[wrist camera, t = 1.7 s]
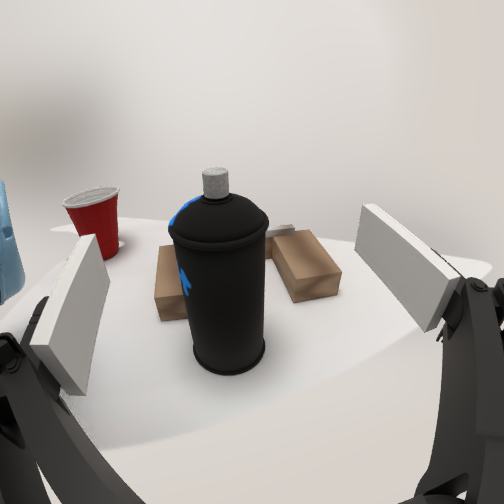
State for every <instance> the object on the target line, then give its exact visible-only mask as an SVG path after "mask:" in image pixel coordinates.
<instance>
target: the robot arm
mask: <svg viewBox="0 0 504 504" xmlns="http://www.w3.org/2000/svg"><path fill="white" fill-rule="evenodd" d="M354 250H355V251H356V252H357V253H358V254H359V256H360V257H361V258H362V259H363V260H364V261H365V262H366V263H367V264H368V266H369V267H370V268H371V269H372V270H373V271H374V272H375V273H376V275H377V276H378V277H379V278H380V279H381V280H382V282H383V283H384V284H385V285H386V286H387V287H388V289H389V290H390V291H391V292H392V293H393V294H394V296H395V297H396V298H397V299H398V300H399V302H400V303H401V304H402V305H403V306H404V308H405V309H406V310H407V311H408V313H409V314H410V315H411V316H412V318H413V319H414V320H415V321H416V323H417V324H418V325H419V326H420V328H421V329H422V330H423V331H424V333H425V332H427V331H430V330H432V329H434V328H436V327H437V325H438V323H439V322H440V319H441V318H443V319H444V320H445V321H446V322H445V324H444V326H443V328H442V330H441V331H440V333H439V335H438V337H437V339H436V341H439V339H440V337H442V336H443V340H442V341H441V342H442V343H443V360H442V380H441V393H440V403H439V411H438V419H437V426H436V432H435V438H434V444H433V449H432V455H431V459H430V463H429V466H428V469H427V471H426V472H425V474H424V475H423V477H422V478H421V480H420V482H419V483H418V486H417V488H416V491H415V495H414V498H411V499H409V500H406V501H404V502H402V503H399V504H504V330H503V331H502V330H501V328H500V326H501V324H502V323H503V321H504V278H500V279H498V281H497V283H496V285H495V287H494V288H489V287H488V286H487V285H486V284H485V283H484V282H483V281H481V280H479V279H477V278H473V277H470V278H467V279H465V278H464V277H463V276H462V275H461V274H460V273H459V272H458V271H457V270H456V269H455V268H454V267H453V266H451V265H450V264H449V263H447V261H446V260H445V259H444V258H443V257H442V258H441V256H440V255H439V254H438V253H437V252H436V251H434V250H433V249H431V248H429V247H428V246H427V245H425V244H424V243H423V242H422V241H421V240H419V239H418V238H417V237H416V236H415V235H413V234H412V233H411V232H410V231H409V230H407V229H406V228H405V227H403V226H402V225H401V224H400V223H399V222H397V221H396V220H395V219H393V218H392V217H391V216H390V215H388V214H387V213H386V212H384V211H383V210H382V209H380V208H379V207H378V206H376V205H375V204H363V205H362V209H361V216H360V222H359V227H358V233H357V239H356V244H355V249H354ZM24 283H25V273H24V269H23V266H22V263H21V259H20V256H19V252H18V248H17V245H16V241H15V237H14V233H13V229H12V224H11V219H10V215H9V209H8V203H7V198H6V192H5V185H4V182H3V181H2V180H0V306H1V305H3V304H4V302H5V301H6V300H7V299H9V298H10V297H12V296H14V295H15V294H17V293H18V292H19V291H20V290H21V289H22V288H23V286H24ZM109 285H110V279H109V276H108V273H107V270H106V267H105V264H104V261H103V258H102V255H101V252H100V248H99V245H98V242H97V238H96V235H95V234H90V235H84V236H81V237H80V239H79V240H78V242H77V244H76V246H75V248H74V249H73V251H72V253H71V255H70V257H69V258H68V260H67V262H66V264H65V266H64V268H63V270H62V272H61V274H60V276H59V278H58V280H57V282H56V284H55V286H54V288H53V290H52V292H51V294H50V296H46V297H44V298H43V299H42V300H41V301H40V302H39V303H38V304H37V306H36V308H35V310H34V312H33V314H32V316H33V317H31V319H30V321H29V325H28V326H27V328H26V331H25V333H24V335H23V338H22V340H21V343H20V345H19V344H18V342H17V341H16V339H15V338H14V336H13V335H12V334H11V333H8V332H6V333H1V334H0V504H51V502H50V500H49V497H48V495H47V492H46V489H45V487H44V484H43V481H42V478H41V475H40V472H39V469H38V466H39V468H40V470H41V471H42V473H43V475H44V477H45V478H46V480H47V482H48V483H49V485H50V486H51V488H52V490H53V491H54V493H55V494H56V496H57V497H58V499H59V500H60V502H61V503H62V504H145V503H144V502H143V501H142V500H141V499H140V498H139V497H138V496H137V495H136V493H134V491H133V490H132V489H131V488H130V487H129V486H128V485H127V484H126V483H125V482H124V481H123V480H122V479H121V477H120V476H119V475H118V474H117V473H116V472H115V471H114V469H113V468H112V467H111V466H110V465H109V464H108V462H107V461H106V460H105V459H104V457H103V456H102V455H101V454H100V452H99V451H98V450H97V449H96V447H95V446H94V445H93V443H92V442H91V441H90V439H89V438H88V436H87V435H86V434H85V432H84V431H83V429H82V428H81V427H80V425H79V424H78V422H77V421H76V419H75V418H74V416H73V415H72V413H71V411H70V410H69V408H68V407H67V405H66V404H65V402H64V400H63V399H62V398H61V397H60V396H59V393H60V388H61V387H62V388H63V389H64V391H65V392H66V393H67V394H68V395H78V396H86V391H87V385H88V378H89V373H90V367H91V361H92V356H93V351H94V346H95V341H96V337H97V332H98V328H99V323H100V319H101V315H102V311H103V307H104V303H105V300H106V296H107V292H108V289H109ZM37 464H38V466H37ZM465 491H467V493H466V498H465V500H463V499H460V498H457V496H458V495H459V494H460V493H463V492H465Z"/></svg>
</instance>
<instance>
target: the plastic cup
mask: <svg viewBox="0 0 504 504" xmlns="http://www.w3.org/2000/svg"><path fill="white" fill-rule="evenodd" d="M119 190H120V188H119V187H118V186H112V185H111V186H100V187H95V188H91V189H87V190H83V191H81V192H78V193H75V194H73V195H71V196H69V197H67V198H66V199H65V200H64V201H62V205H63V207H65V208H66V210H67V212H68V214H69V215H70V218H71V220H72V221H73V223H74V226H75V228H76V230H77V232H78V234H79V236H80V237H81V236H84V235H90V234H95V235H96V238H97V242H98V245H99V248H100V252H101V255H102V258H103V260H107V259H110V258H111V257H113V256H115V255H116V253H117V252H118V249H119V242H118V222H117V199H118V198H117V197H118V192H119Z"/></svg>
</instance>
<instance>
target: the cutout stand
mask: <svg viewBox="0 0 504 504" xmlns="http://www.w3.org/2000/svg"><path fill="white" fill-rule="evenodd" d="M269 258H272V259H273V261H274V263H275V265H276V267H277V269H278V271H279V274H280V276H281V278H282V280H283V282H284V284H285V286H286V288H287V290H288V292H289V294H290V296H291V299H292V301H293V303H296V302H302V301H307V300H313V299H318V298H324V297H329V296H334V295H337V293H338V288H339V284H340V279H341V274H342V271H341V270H340V269H339V267H338V266H337V265H336V263H335V262H334V261H333V259H332V258H331V257H330V255H329V254H328V253H327V252H326V250H325V249H324V248H323V246H322V245H321V244H320V243H319V241H318V240H317V239H316V237H315V236H314V235H313V234H312V232H311V231H310V230H300V231H295V228H294V226H293V225H292V224H291V225H281V226H271V227H268V229H267V231H266V243H265V259H269ZM154 299H155V302H156V306H157V309H158V313H159V316H160V319H161V321H168V320H177V319H186V318H188V316H187V311H186V307H185V302H184V297H183V292H182V287H181V282H180V277H179V271H178V266H177V260H176V255H175V249H174V245H167V246H159V255H158V263H157V273H156V283H155V294H154Z"/></svg>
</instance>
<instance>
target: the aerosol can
mask: <svg viewBox="0 0 504 504" xmlns="http://www.w3.org/2000/svg"><path fill="white" fill-rule="evenodd" d="M202 176H203V190H204V195H201V196H199V197H196V198H194V199H193V200H191V201H189V202H187V203H186V204H184V206H183V207H182V208H181V209H180V210H179V211H178V213H177V214H176V215H175V216H174V217H173V218H172V219H171V221H170V223H169V225H168V232H169V234H170V236H171V238H172V239H173V243H174V249H175V255H176V260H177V266H178V271H179V277H180V282H181V287H182V292H183V297H184V302H185V307H186V311H187V316H188V321H189V325H190V330H191V334H192V338H193V342H194V343H193V352H194V355H195V358H196V360H197V361H198V362H199V364H200V365H202V366H203V367H204V368H205V369H207V370H209V371H211V372H213V373H216V374H221V375H235V374H240V373H243V372H245V371H248V370H249V369H251V368H253V367H254V366H255V365H256V364H257V363H258V362H259V361H260V360H261V358H262V356H263V354H264V351H265V341H264V338H263V324H264V287H265V243H266V231H267V229H268V226H269V220H268V217H267V215H266V214H265V213H264V212H263V211H262V210H261V209H259V208H258V207H257V206H256V205H255V204H254V203H253V202H252V201H250V200H249V199H247V198H245V197H243V196H239V195H237V194H232V193H229V183H228V170H227V169H225V168H209V169H206V170H204V171H203V172H202Z"/></svg>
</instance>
